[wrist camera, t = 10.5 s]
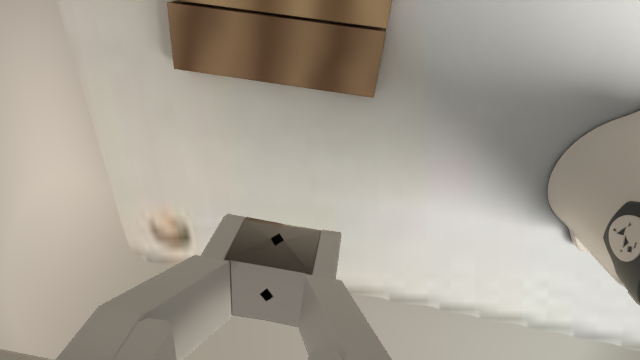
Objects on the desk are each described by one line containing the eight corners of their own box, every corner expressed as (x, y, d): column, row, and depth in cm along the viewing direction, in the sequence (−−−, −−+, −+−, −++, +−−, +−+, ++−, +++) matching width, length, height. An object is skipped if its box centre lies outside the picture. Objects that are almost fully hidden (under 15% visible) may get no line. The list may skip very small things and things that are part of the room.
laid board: (385, 29, 33) (385, 31, 32) (373, 92, 37) (373, 97, 35) (175, 0, 35) (167, 2, 33) (181, 64, 38) (174, 68, 36)
